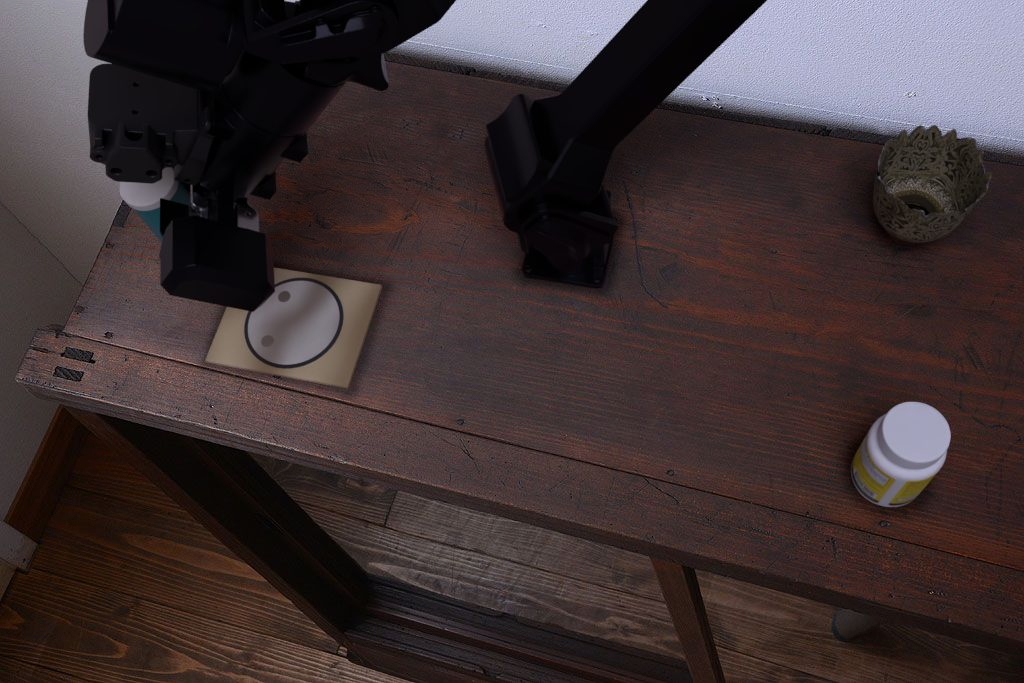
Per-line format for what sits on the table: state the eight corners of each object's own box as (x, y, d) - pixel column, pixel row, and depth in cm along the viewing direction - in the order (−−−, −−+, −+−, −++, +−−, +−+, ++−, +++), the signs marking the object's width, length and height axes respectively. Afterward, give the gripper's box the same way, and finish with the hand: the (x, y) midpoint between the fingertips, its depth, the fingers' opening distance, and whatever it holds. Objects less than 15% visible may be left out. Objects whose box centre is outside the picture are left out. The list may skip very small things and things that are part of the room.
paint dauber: (238, 250, 73) (165, 149, 62) (253, 287, 71) (181, 190, 60) (193, 271, 72) (112, 173, 61) (208, 308, 71) (127, 215, 60)
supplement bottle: (927, 453, 67) (964, 407, 59) (916, 517, 65) (953, 478, 57) (856, 434, 68) (883, 386, 60) (842, 496, 66) (869, 456, 58)
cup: (965, 269, 72) (1001, 209, 65) (863, 273, 73) (887, 214, 66) (948, 186, 76) (980, 120, 68) (850, 190, 76) (872, 126, 69)
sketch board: (383, 287, 77) (381, 283, 77) (349, 389, 74) (347, 386, 73) (246, 265, 80) (243, 261, 79) (206, 362, 76) (203, 359, 76)
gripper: (129, -78, 55) (48, 91, 65) (120, 190, 47) (28, 335, 57) (308, -2, 62) (208, 140, 72) (328, 244, 53) (212, 365, 64)
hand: (166, 235), depth 66 cm, fingers closed on paint dauber, 3 cm apart
